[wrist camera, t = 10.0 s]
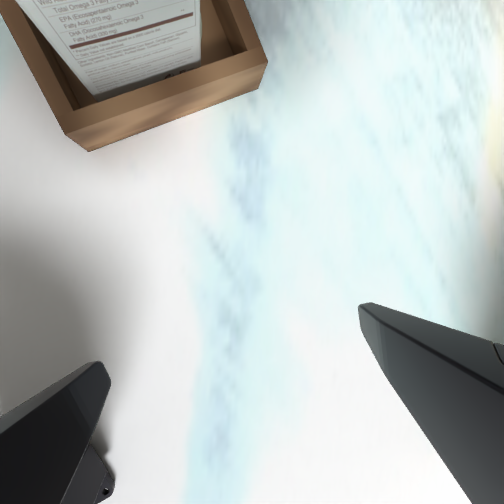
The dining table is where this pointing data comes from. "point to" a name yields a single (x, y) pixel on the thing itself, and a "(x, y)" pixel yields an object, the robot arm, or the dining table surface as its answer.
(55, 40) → the supplement box
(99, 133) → the tray
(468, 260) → the dining table surface
